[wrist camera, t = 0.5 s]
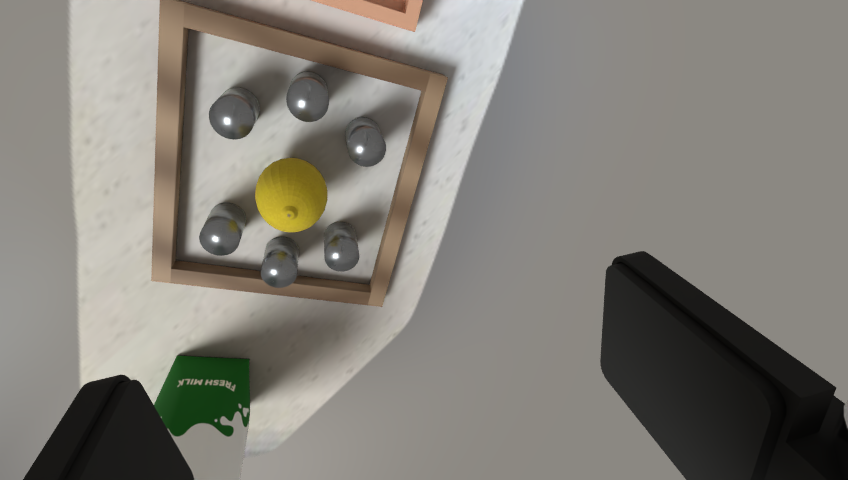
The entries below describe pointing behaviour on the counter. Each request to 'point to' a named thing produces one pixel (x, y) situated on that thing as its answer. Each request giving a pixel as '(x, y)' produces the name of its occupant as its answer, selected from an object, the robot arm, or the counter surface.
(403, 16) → the dish
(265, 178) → the lemon
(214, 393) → the milk carton
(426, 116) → the frame
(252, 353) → the counter surface
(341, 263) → the posts
